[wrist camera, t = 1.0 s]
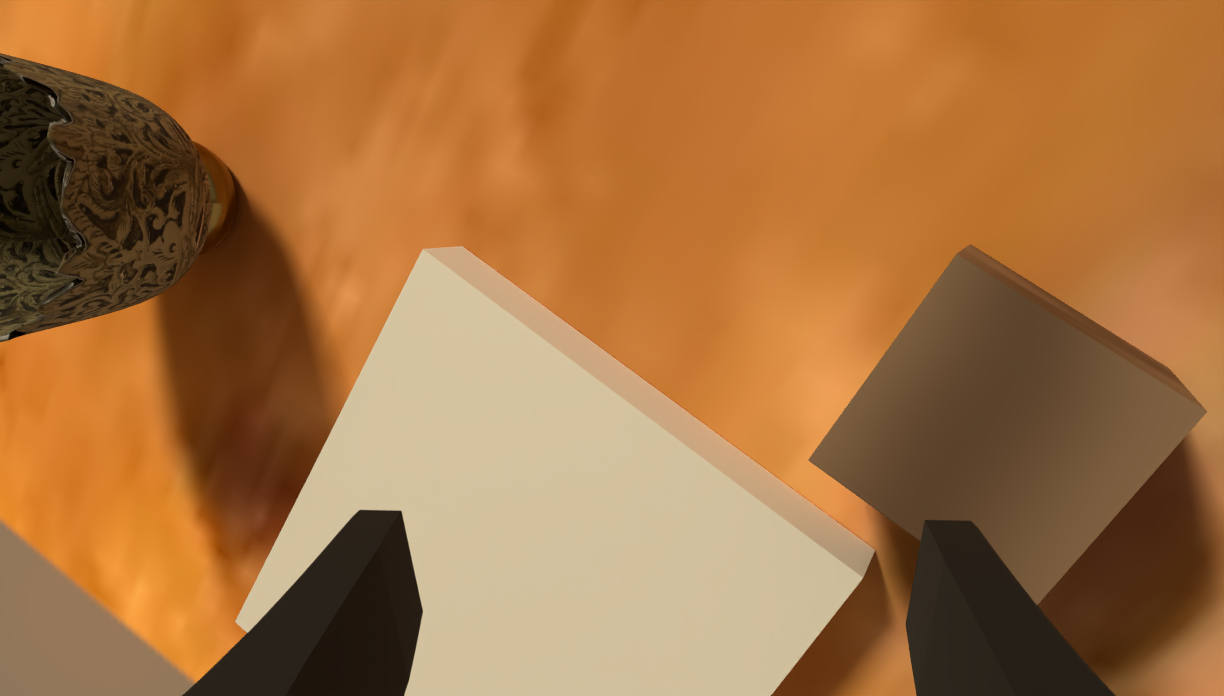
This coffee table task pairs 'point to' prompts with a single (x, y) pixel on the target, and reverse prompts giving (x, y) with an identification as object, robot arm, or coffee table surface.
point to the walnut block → (1007, 421)
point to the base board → (561, 511)
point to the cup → (96, 198)
